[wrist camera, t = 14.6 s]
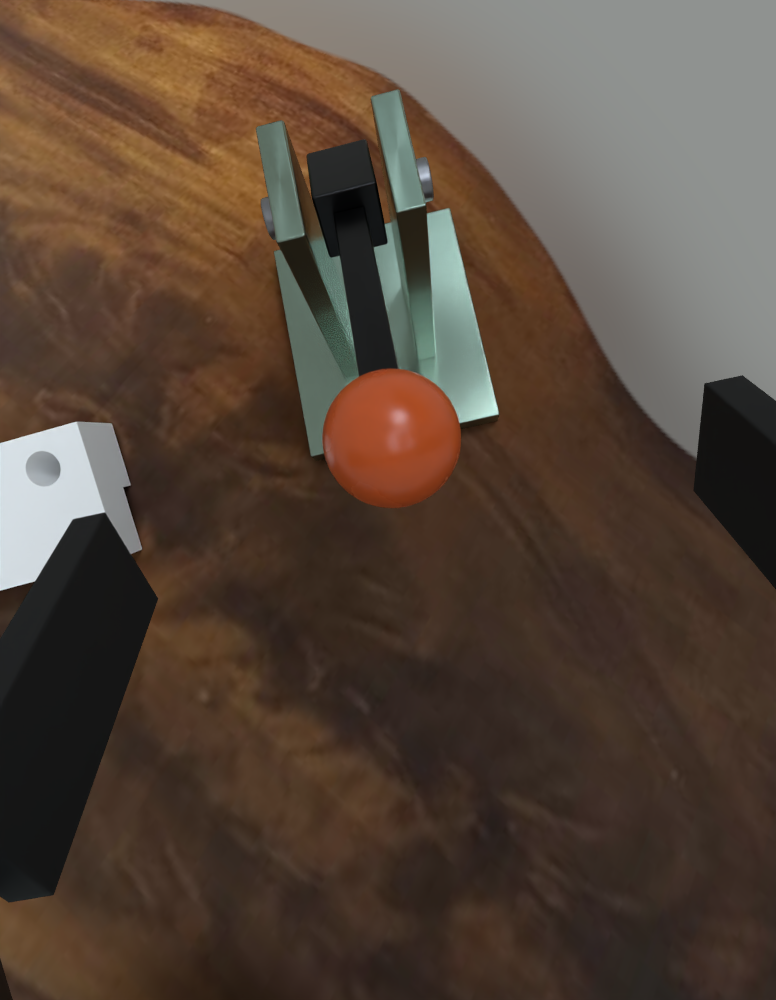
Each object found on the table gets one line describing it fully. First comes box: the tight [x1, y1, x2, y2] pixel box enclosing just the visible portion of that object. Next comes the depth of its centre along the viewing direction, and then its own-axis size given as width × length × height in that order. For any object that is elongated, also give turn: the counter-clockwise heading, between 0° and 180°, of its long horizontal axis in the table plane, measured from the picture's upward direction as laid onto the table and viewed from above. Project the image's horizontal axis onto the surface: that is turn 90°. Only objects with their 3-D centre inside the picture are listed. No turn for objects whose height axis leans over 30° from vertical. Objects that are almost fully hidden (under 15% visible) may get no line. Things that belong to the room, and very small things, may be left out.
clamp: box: [256, 90, 499, 461], centre depth 27 cm, size 12×10×14 cm
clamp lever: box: [307, 140, 461, 508], centre depth 19 cm, size 14×4×4 cm, turn 11°
